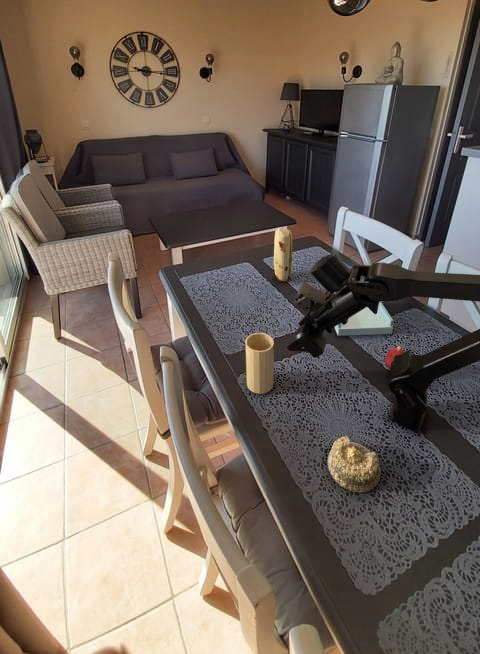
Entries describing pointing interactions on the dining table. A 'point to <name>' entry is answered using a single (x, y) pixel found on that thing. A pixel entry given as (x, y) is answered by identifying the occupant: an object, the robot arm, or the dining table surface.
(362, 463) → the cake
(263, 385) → the cup
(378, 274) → the robot arm
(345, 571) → the dining table surface
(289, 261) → the food model
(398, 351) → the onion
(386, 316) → the shallow mint tray
